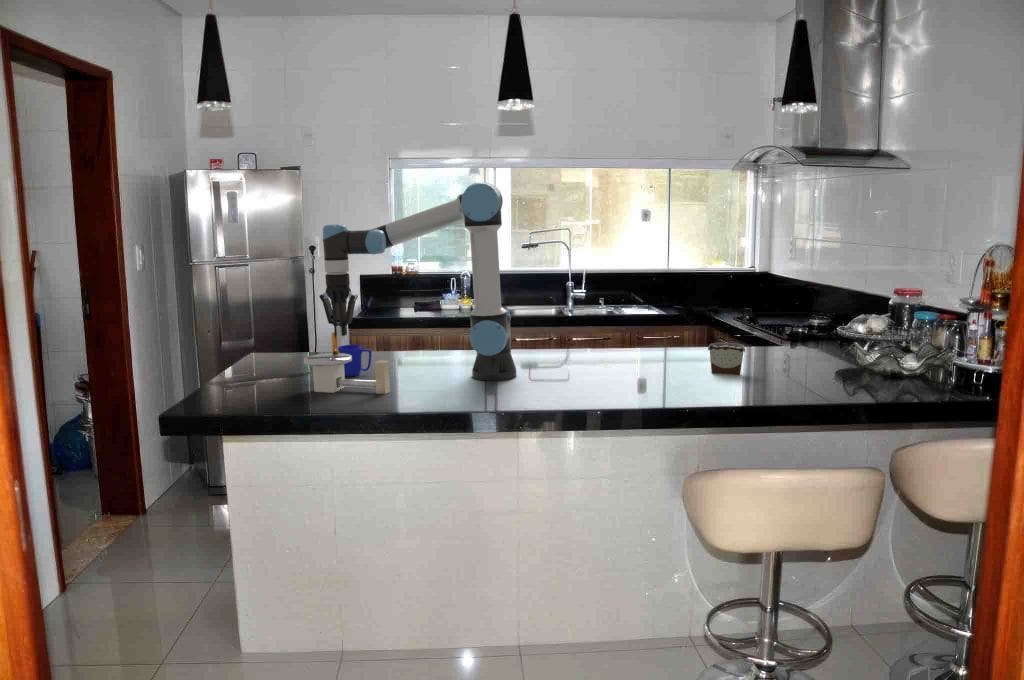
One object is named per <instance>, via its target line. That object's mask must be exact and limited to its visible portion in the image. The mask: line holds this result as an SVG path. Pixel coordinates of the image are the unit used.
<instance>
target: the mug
mask: <svg viewBox="0 0 1024 680" xmlns="http://www.w3.org/2000/svg"><path fill="white" fill-rule="evenodd" d="M338 348H339V353H344V354H349V355H351V356H352V361H351V362H349V363H345V364H344V373H345V377H355V376H359V375H360V374H361V371H362V372H366V371H368V370H369V369H370V367H371V365H372V350H371V349H368V348H362V346H361V345H360V344H346V345H343V346H338ZM363 352H368V364H367V367H366V368H363V367H362V354H363Z"/></svg>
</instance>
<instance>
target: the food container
mask: <svg viewBox="0 0 1024 680" xmlns="http://www.w3.org/2000/svg"><path fill="white" fill-rule="evenodd" d="M707 351H709V359H710V373H711V374H712V375H724V376H738V377H740V376H741V374H742V373H741V372H742V363H743V358H744V357H743V356H744V353H746V348H745V345H743V344H740V343H736V342H714V343H710V344H709V345H708V348H707Z"/></svg>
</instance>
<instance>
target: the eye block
mask: <svg viewBox="0 0 1024 680" xmlns="http://www.w3.org/2000/svg"><path fill="white" fill-rule="evenodd" d="M312 374H313V392H315V393H316V392H317V393H331V394H333V393H336V392H339V391H341V390H342V388H343V389H345V388H344V386H337V384H336V379H346V376H345V373H344V364H341V365H333V366H312ZM340 389H341V390H340Z"/></svg>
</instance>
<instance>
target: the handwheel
mask: <svg viewBox="0 0 1024 680" xmlns="http://www.w3.org/2000/svg"><path fill="white" fill-rule="evenodd" d="M330 337H331V350H332V352H330V353H319V354H318V353H317V354H313V355H309V356H305V357H304V358H303V363H304V364H305V365H307V366H310V367H313V366H333V365H341V364H345V363H349V362H351V361H352V356H351V355H349V354H344V353H339V348H338V347H339V346H338V345H337V335H335V331H334V332H333V331H332V332H331V336H330Z"/></svg>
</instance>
